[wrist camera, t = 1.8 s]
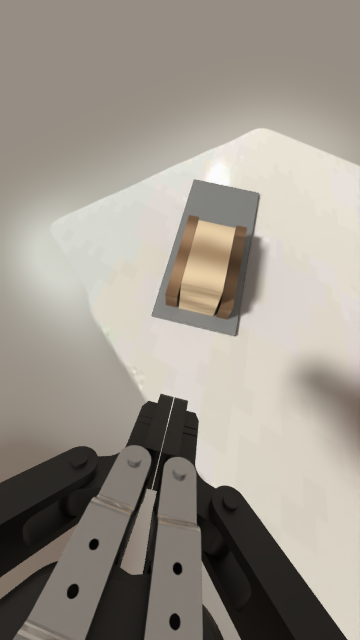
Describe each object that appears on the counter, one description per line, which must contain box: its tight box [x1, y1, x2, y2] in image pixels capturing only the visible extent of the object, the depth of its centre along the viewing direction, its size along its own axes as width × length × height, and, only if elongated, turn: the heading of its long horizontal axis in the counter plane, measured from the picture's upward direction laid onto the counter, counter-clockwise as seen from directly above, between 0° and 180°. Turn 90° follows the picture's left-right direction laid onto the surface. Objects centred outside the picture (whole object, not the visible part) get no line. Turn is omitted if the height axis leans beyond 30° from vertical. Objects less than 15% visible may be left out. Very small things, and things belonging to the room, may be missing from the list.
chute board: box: [152, 179, 259, 336], centre depth 42 cm, size 28×12×1 cm, turn 166°
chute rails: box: [165, 215, 247, 320], centre depth 38 cm, size 14×9×4 cm, turn 166°
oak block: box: [179, 220, 236, 316], centre depth 36 cm, size 10×5×7 cm, turn 166°
